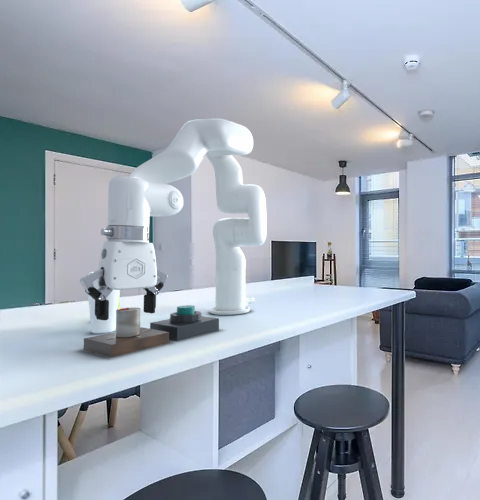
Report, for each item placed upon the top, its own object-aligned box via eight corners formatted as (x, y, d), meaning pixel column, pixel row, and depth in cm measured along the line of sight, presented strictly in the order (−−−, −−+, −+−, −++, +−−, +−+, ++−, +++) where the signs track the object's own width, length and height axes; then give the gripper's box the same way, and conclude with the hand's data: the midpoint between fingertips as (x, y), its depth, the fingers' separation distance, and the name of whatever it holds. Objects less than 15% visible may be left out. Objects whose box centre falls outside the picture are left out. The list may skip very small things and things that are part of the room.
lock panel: (141, 337, 82) (141, 326, 82) (169, 343, 77) (169, 331, 77) (83, 350, 71) (83, 337, 71) (111, 357, 67) (111, 344, 67)
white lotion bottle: (94, 336, 83) (95, 273, 83) (81, 332, 86) (82, 272, 86) (125, 330, 89) (125, 272, 89) (112, 327, 92) (112, 271, 92)
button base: (192, 326, 94) (192, 308, 94) (219, 330, 90) (219, 311, 90) (149, 335, 84) (150, 315, 84) (177, 341, 79) (177, 319, 79)
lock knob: (132, 331, 77) (132, 305, 77) (144, 333, 75) (144, 307, 75) (111, 335, 73) (111, 308, 73) (123, 338, 71) (123, 310, 71)
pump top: (187, 312, 89) (187, 304, 89) (198, 314, 88) (198, 306, 88) (173, 315, 86) (173, 307, 86) (184, 316, 84) (184, 308, 84)
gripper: (93, 232, 65) (91, 324, 65) (176, 237, 80) (175, 311, 80) (72, 233, 68) (70, 320, 68) (156, 238, 84) (154, 309, 83)
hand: (127, 315), depth 74 cm, fingers open, 9 cm apart
